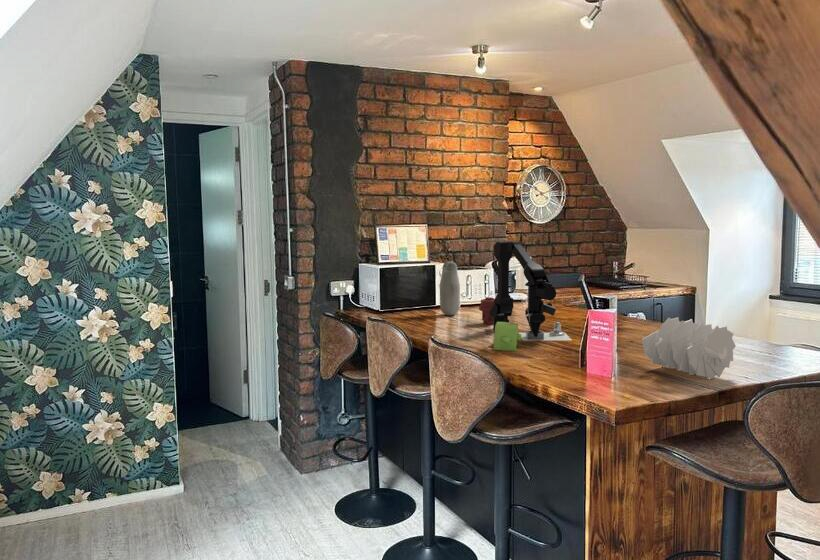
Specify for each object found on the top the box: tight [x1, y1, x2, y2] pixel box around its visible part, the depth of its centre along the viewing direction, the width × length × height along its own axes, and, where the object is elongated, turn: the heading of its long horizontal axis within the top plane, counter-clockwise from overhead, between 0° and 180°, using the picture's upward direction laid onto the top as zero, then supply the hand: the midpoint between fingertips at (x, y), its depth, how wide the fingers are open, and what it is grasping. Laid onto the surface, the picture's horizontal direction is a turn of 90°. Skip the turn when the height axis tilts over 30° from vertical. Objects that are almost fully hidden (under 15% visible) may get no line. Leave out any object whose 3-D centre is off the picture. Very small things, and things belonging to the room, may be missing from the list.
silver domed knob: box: [549, 321, 566, 336], centre depth 277 cm, size 6×6×5 cm
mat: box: [518, 332, 573, 342], centre depth 273 cm, size 20×17×1 cm
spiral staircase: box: [641, 317, 737, 380], centre depth 210 cm, size 18×18×25 cm
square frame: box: [525, 330, 545, 341], centre depth 269 cm, size 7×7×2 cm
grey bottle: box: [439, 260, 461, 317], centre depth 334 cm, size 10×10×28 cm
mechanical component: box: [478, 296, 495, 326], centre depth 309 cm, size 12×10×10 cm
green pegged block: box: [493, 321, 522, 352], centre depth 252 cm, size 18×10×10 cm, turn 168°
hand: (534, 335), depth 269 cm, fingers open, 7 cm apart
